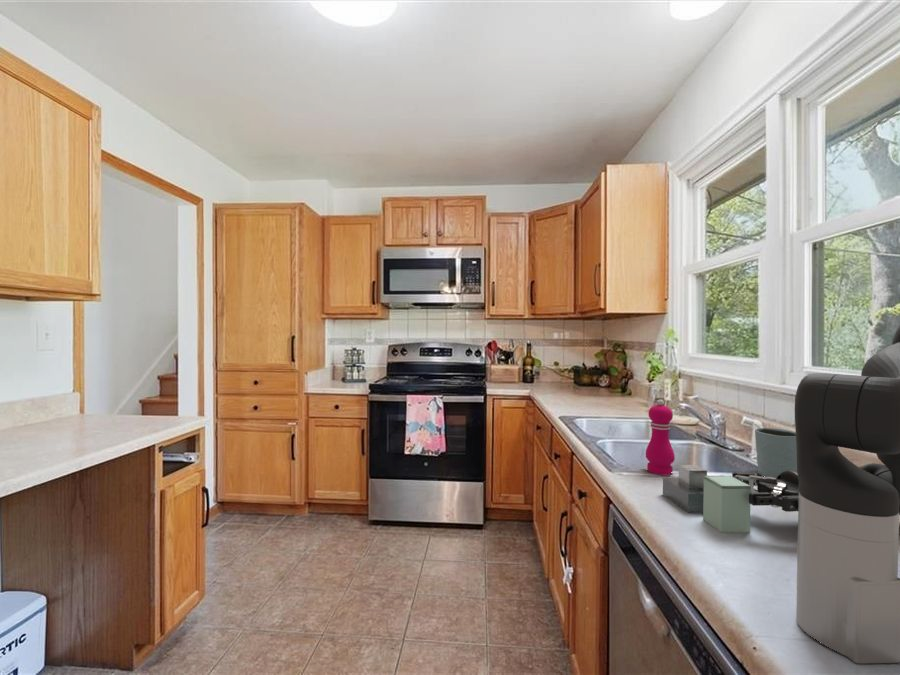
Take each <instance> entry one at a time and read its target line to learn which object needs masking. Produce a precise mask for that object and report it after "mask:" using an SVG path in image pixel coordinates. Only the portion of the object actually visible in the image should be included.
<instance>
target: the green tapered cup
mask: <svg viewBox="0 0 900 675" xmlns="http://www.w3.org/2000/svg"><path fill="white" fill-rule="evenodd" d="M754 437H755V438H754V439H755V451H756V460H757V462H756V463H757V472H758V473H761V474H762V477H763V476H765V477H774V478H777V477H778V476H779V474H780V473H781V472H783V471H786V470H797V449H796V431H792V430H787V429H780V428H779V429H778V428H770V427H768V428H767V427H766V428H765V427H759V428H755V429H754Z"/></svg>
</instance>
